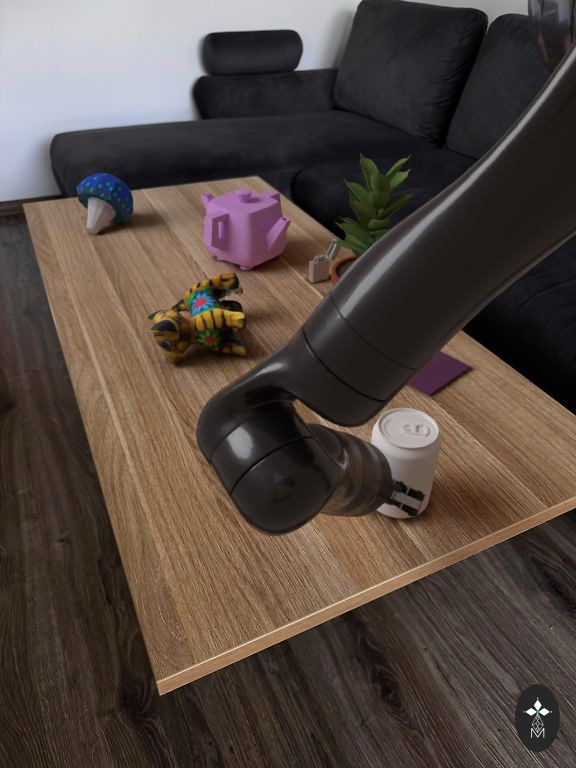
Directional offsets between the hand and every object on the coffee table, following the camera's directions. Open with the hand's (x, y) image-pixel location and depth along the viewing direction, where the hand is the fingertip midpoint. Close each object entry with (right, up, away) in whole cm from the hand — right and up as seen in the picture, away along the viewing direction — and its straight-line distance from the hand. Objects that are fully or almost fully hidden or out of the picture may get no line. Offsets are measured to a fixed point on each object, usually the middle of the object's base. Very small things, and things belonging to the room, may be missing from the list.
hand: (386, 485), depth 70 cm
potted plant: (+3, +25, +44) cm, 51 cm away
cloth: (+11, +15, +30) cm, 35 cm away
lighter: (-4, +35, +56) cm, 66 cm away
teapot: (-21, +41, +64) cm, 79 cm away
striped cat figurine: (-27, +20, +36) cm, 49 cm away
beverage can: (+2, -3, +7) cm, 7 cm away
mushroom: (-56, +52, +78) cm, 109 cm away
